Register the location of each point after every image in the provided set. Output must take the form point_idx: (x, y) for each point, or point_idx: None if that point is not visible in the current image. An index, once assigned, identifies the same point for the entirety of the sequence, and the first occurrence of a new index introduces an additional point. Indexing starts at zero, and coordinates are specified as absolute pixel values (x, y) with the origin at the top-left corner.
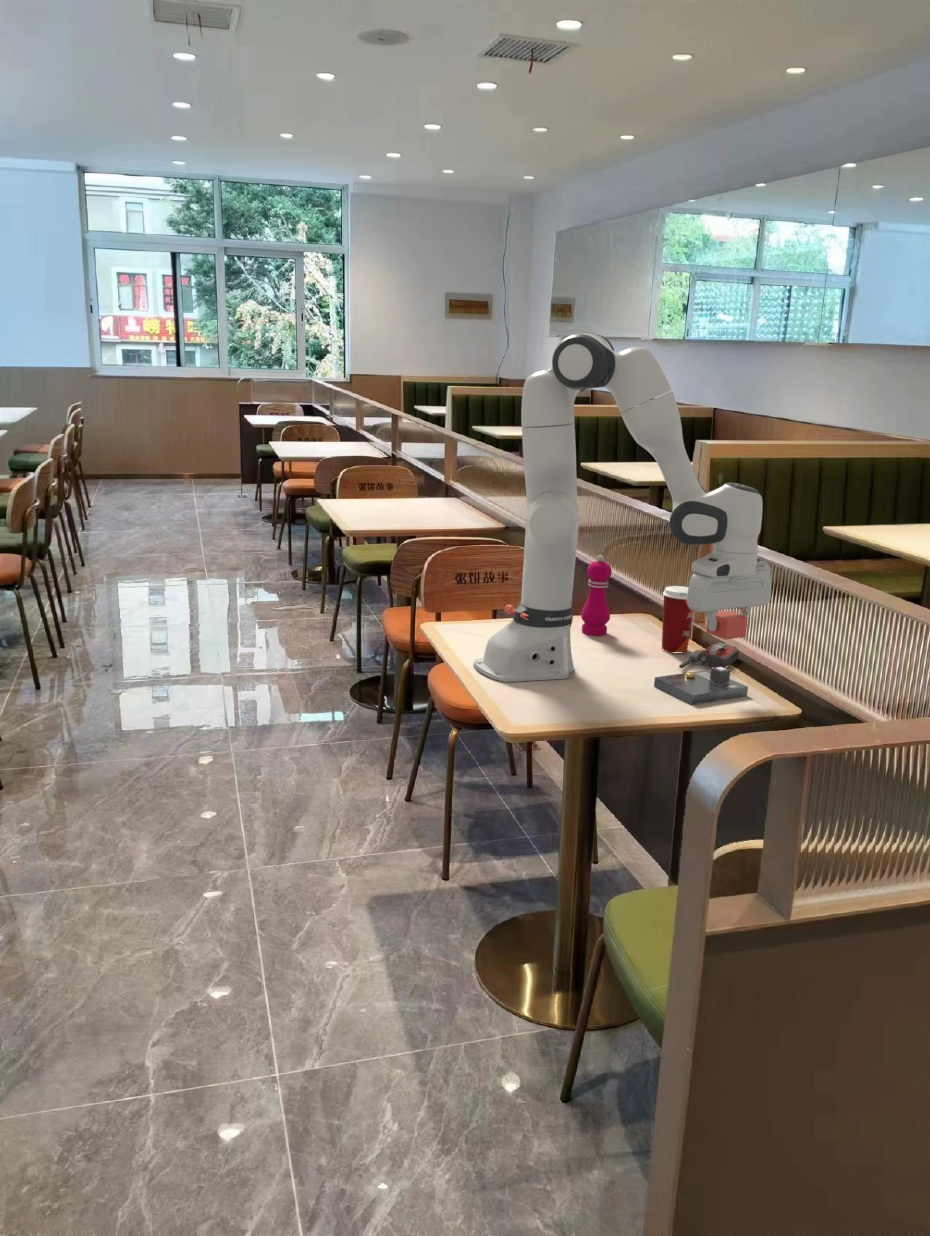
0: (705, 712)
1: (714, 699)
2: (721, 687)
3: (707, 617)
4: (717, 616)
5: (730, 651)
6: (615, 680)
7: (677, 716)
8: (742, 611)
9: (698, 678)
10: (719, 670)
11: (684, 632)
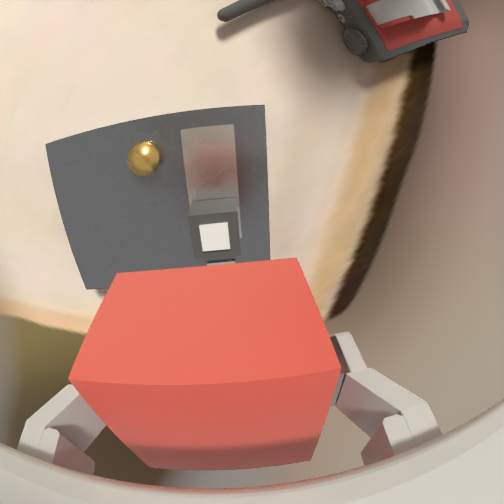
0: None
1: None
2: (188, 262)
3: (50, 404)
4: (116, 432)
5: (440, 29)
6: (5, 89)
7: (52, 312)
8: (384, 416)
9: (165, 176)
10: (201, 245)
11: None
